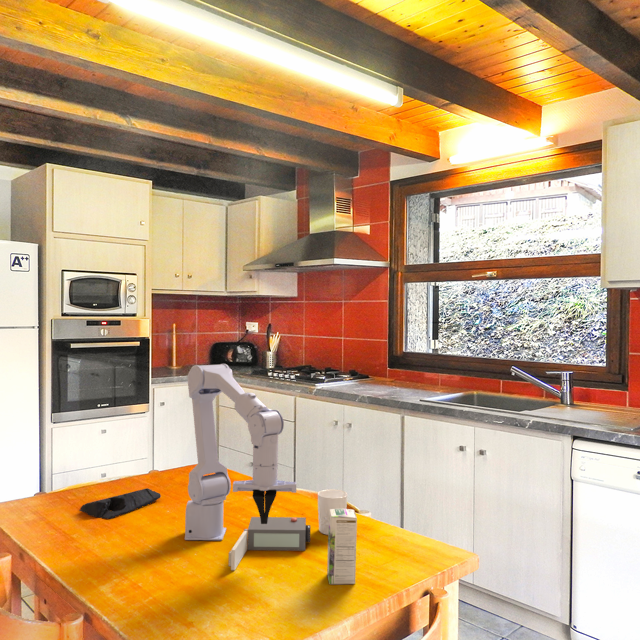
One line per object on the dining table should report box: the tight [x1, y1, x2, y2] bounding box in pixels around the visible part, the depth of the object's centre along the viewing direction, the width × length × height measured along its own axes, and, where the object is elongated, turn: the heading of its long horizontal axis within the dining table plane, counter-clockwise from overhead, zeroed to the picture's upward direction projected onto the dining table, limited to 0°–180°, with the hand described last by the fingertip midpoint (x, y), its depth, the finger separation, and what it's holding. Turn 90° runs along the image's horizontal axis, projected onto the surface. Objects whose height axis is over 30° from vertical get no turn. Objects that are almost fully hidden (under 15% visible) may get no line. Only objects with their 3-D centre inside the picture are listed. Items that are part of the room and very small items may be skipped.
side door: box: [228, 528, 248, 571], centre depth 139 cm, size 13×1×5 cm, turn 173°
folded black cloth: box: [78, 487, 162, 520], centre depth 177 cm, size 15×22×5 cm
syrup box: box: [327, 508, 358, 585], centre depth 130 cm, size 6×6×14 cm
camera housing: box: [247, 516, 311, 552], centre depth 150 cm, size 15×9×6 cm, turn 91°
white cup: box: [317, 488, 348, 536], centre depth 159 cm, size 8×8×10 cm
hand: (264, 522), depth 138 cm, fingers closed
